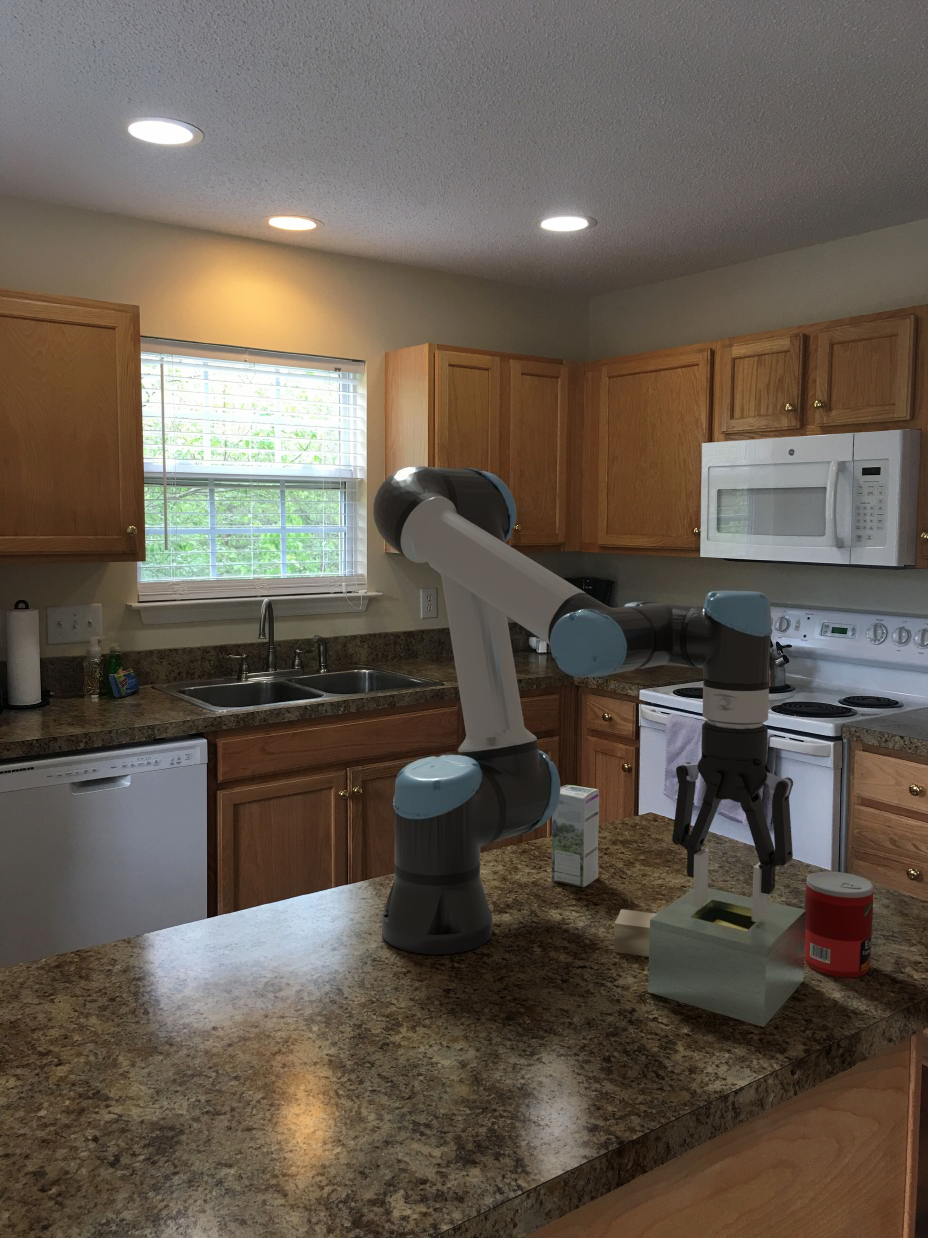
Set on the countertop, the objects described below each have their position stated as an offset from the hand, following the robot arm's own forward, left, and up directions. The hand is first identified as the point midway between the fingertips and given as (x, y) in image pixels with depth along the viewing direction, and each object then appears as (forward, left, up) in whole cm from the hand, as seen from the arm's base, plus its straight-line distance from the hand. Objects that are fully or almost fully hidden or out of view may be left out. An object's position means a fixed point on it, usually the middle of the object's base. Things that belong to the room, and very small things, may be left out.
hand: (729, 910), depth 120 cm
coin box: (0, 0, -9) cm, 9 cm away
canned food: (+9, +14, -10) cm, 19 cm away
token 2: (0, 0, -6) cm, 6 cm away
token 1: (-14, +4, -10) cm, 17 cm away
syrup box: (-33, +21, -10) cm, 40 cm away
